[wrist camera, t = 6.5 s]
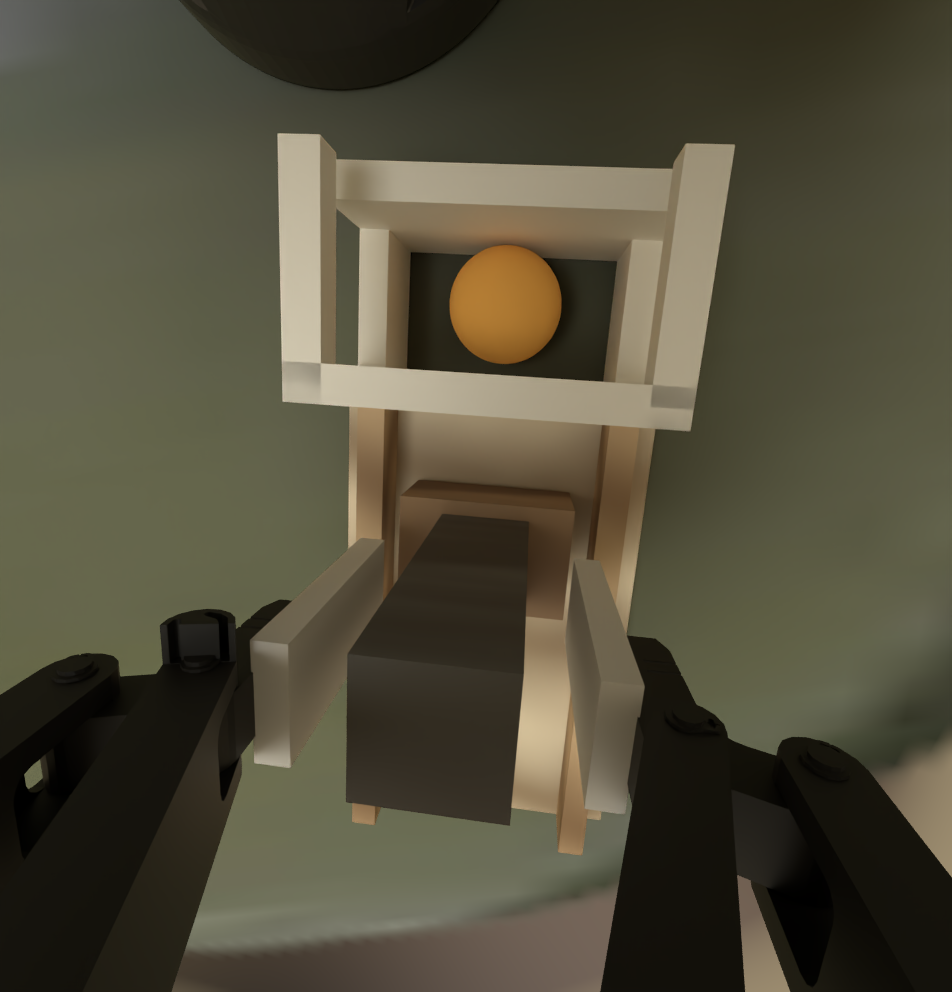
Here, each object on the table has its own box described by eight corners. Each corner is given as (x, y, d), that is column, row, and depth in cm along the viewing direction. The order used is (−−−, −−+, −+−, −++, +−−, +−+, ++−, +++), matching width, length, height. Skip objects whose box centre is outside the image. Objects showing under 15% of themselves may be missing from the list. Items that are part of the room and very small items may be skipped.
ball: (447, 218, 17) (436, 340, 17) (571, 223, 17) (560, 348, 17) (461, 273, 21) (452, 372, 21) (561, 278, 21) (553, 379, 21)
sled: (418, 479, 21) (262, 617, 9) (569, 492, 20) (620, 657, 8) (415, 572, 22) (268, 812, 10) (559, 587, 21) (592, 860, 9)
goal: (386, 223, 20) (276, 108, 12) (647, 233, 20) (739, 117, 11) (382, 392, 22) (282, 401, 13) (625, 409, 21) (690, 431, 12)
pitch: (359, 378, 22) (331, 378, 19) (652, 398, 21) (673, 401, 18) (354, 766, 26) (330, 818, 23) (597, 799, 25) (606, 858, 22)
